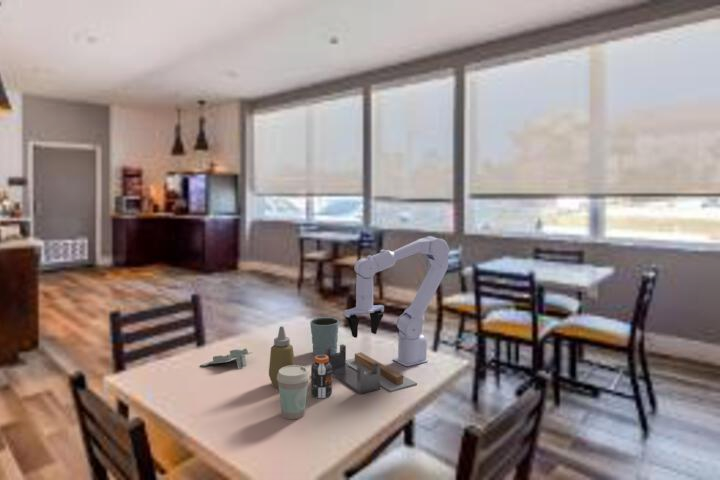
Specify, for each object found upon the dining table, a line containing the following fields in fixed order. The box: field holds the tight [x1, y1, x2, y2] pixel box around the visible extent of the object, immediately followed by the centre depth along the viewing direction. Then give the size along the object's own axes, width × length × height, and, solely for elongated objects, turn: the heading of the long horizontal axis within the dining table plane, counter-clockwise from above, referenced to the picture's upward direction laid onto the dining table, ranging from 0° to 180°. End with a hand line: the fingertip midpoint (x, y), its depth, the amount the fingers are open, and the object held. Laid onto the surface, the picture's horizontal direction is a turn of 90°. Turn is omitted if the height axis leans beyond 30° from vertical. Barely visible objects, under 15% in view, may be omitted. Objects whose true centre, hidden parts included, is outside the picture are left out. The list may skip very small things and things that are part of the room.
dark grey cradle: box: [325, 343, 381, 395], centre depth 149 cm, size 7×22×8 cm, turn 32°
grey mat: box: [346, 357, 418, 393], centre depth 155 cm, size 10×28×1 cm, turn 32°
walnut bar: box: [354, 351, 404, 385], centre depth 155 cm, size 2×24×2 cm, turn 32°
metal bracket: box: [199, 347, 254, 370], centre depth 162 cm, size 14×6×15 cm
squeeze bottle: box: [268, 325, 296, 389], centre depth 144 cm, size 8×8×18 cm
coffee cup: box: [277, 364, 311, 420], centre depth 126 cm, size 8×8×12 cm
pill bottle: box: [310, 355, 333, 399], centre depth 138 cm, size 6×6×11 cm
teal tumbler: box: [309, 316, 340, 357], centre depth 172 cm, size 10×10×12 cm
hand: (364, 335), depth 160 cm, fingers open, 7 cm apart
